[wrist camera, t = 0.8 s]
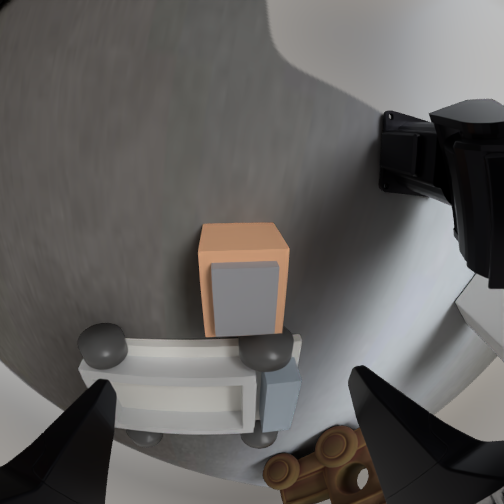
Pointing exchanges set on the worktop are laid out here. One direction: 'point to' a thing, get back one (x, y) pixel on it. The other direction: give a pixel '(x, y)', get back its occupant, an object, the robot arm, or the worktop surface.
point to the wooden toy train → (326, 471)
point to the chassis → (196, 383)
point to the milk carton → (484, 312)
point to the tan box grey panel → (243, 278)
